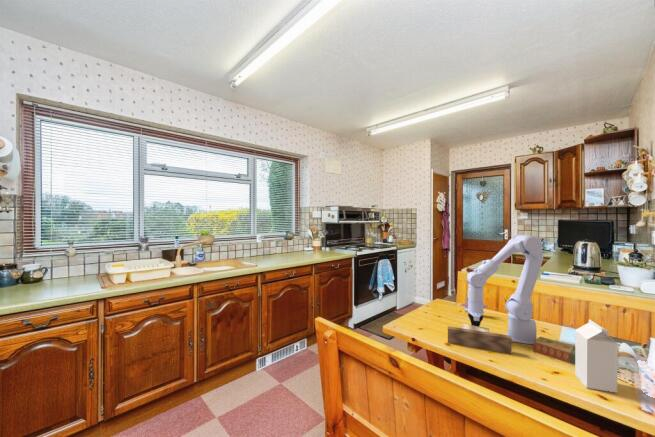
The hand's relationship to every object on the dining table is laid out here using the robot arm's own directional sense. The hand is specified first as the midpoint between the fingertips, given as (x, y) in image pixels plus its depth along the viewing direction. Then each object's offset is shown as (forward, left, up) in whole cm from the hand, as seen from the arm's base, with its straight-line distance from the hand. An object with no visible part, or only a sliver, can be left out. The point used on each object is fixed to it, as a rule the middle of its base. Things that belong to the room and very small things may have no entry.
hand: (475, 331), depth 116 cm
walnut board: (0, +10, -2) cm, 10 cm away
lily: (-1, -27, -3) cm, 27 cm away
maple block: (0, +4, -2) cm, 5 cm away
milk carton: (-31, +21, -3) cm, 38 cm away
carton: (-28, +5, -3) cm, 29 cm away
